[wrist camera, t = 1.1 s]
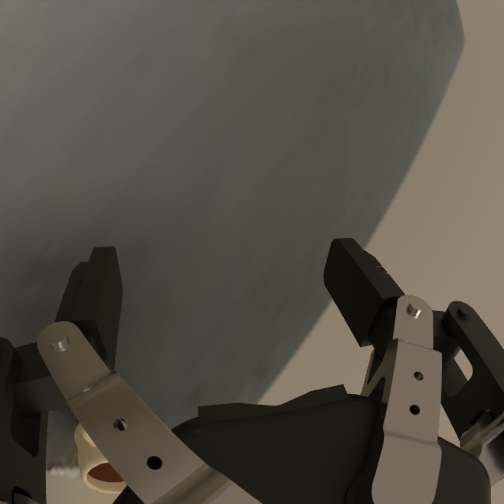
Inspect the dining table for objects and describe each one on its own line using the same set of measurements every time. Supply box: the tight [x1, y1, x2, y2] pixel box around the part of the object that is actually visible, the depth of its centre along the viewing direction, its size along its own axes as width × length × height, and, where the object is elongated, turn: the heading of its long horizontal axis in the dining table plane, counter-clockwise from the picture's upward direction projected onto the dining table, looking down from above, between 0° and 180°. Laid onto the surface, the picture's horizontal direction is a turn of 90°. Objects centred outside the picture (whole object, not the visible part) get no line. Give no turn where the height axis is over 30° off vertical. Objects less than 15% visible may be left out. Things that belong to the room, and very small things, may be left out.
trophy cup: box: [74, 423, 127, 494], centre depth 26 cm, size 11×7×13 cm, turn 11°
